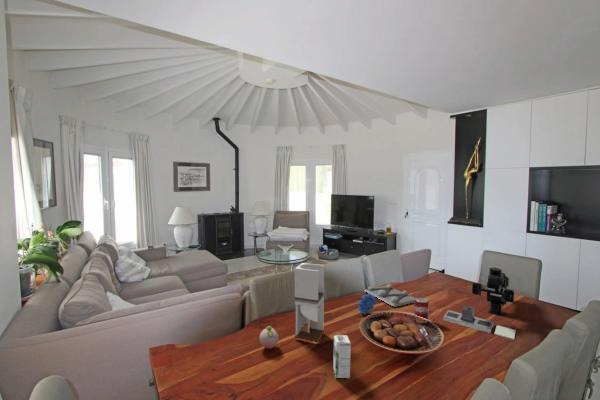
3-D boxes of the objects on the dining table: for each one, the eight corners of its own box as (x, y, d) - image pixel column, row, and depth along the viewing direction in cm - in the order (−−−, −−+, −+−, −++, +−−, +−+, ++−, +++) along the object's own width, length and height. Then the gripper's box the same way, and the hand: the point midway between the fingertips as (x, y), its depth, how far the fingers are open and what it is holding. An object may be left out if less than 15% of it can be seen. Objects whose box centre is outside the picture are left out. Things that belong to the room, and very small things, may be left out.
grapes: (371, 309, 173) (371, 289, 172) (377, 314, 167) (378, 293, 166) (354, 312, 169) (354, 292, 168) (360, 317, 163) (360, 296, 162)
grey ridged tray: (419, 303, 183) (419, 292, 183) (394, 309, 174) (394, 297, 174) (386, 287, 211) (387, 278, 210) (363, 292, 201) (363, 282, 201)
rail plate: (448, 313, 167) (448, 309, 167) (493, 325, 153) (493, 321, 153) (443, 320, 159) (443, 316, 159) (490, 333, 145) (490, 329, 145)
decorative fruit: (257, 345, 134) (257, 324, 133) (274, 341, 137) (274, 321, 137) (262, 356, 125) (262, 333, 125) (280, 352, 128) (280, 330, 128)
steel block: (463, 319, 160) (464, 305, 159) (474, 322, 157) (474, 307, 156) (461, 323, 156) (462, 308, 156) (472, 325, 153) (472, 310, 152)
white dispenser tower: (294, 340, 138) (294, 268, 137) (302, 329, 148) (302, 262, 147) (317, 344, 134) (317, 271, 133) (323, 333, 144) (323, 265, 143)
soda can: (429, 325, 153) (430, 303, 153) (415, 323, 155) (415, 302, 154) (426, 319, 160) (427, 298, 160) (412, 317, 162) (413, 297, 161)
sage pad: (496, 326, 152) (496, 325, 152) (515, 331, 147) (515, 330, 147) (494, 334, 144) (494, 333, 144) (514, 339, 139) (514, 338, 139)
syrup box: (332, 370, 116) (333, 335, 115) (347, 369, 116) (347, 334, 116) (335, 379, 110) (335, 342, 110) (350, 378, 111) (351, 342, 110)
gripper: (475, 270, 166) (470, 278, 154) (515, 277, 154) (513, 286, 142) (474, 289, 167) (469, 298, 155) (514, 297, 155) (512, 308, 143)
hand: (490, 297), depth 149 cm, fingers open, 9 cm apart
